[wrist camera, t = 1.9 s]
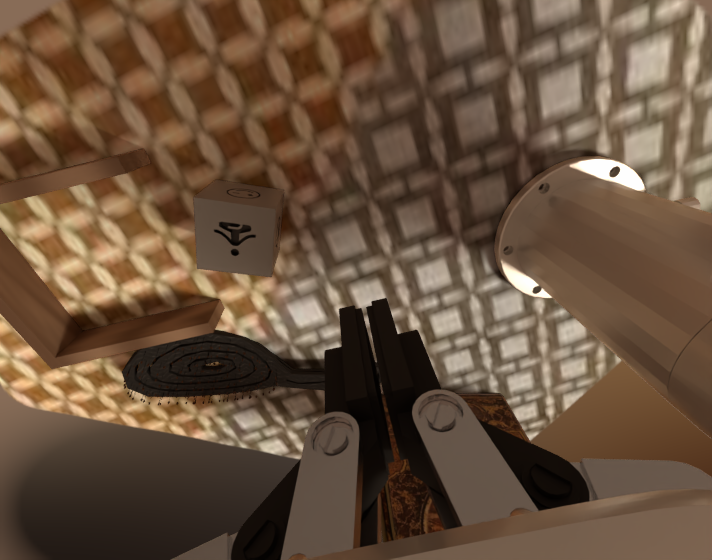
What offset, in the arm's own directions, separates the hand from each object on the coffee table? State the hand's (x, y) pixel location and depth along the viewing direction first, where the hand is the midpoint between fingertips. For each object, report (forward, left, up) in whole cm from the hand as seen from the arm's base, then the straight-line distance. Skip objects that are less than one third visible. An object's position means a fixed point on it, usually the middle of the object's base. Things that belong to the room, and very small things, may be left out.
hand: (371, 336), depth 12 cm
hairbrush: (+11, +15, -18) cm, 26 cm away
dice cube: (+8, -1, -17) cm, 19 cm away
